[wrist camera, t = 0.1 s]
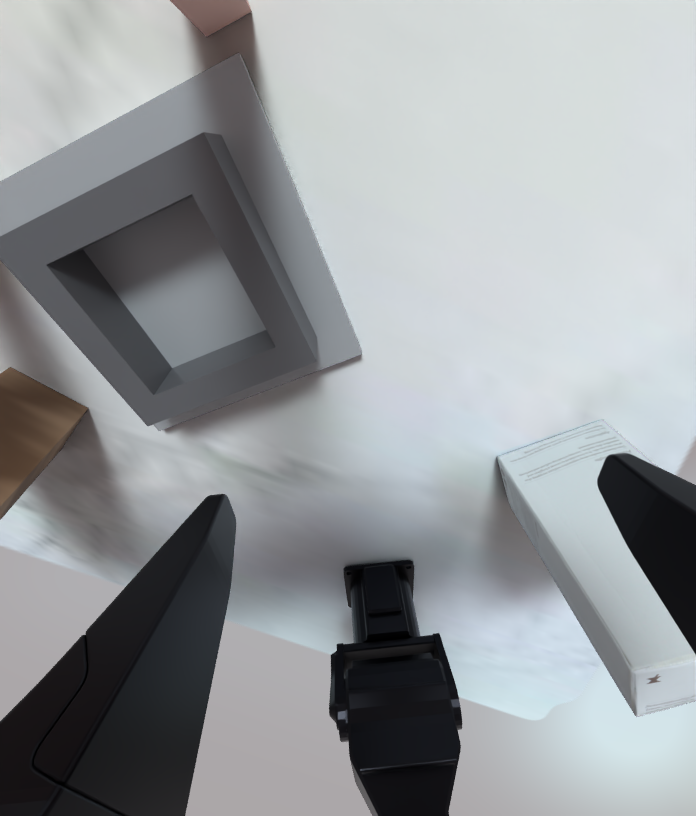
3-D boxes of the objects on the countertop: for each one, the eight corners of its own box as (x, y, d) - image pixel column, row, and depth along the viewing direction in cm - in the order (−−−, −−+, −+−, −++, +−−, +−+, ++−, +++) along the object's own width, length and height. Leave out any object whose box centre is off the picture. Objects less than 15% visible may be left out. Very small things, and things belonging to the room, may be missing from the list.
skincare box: (506, 500, 32) (624, 723, 19) (493, 450, 28) (625, 680, 16) (611, 467, 30) (810, 685, 18) (610, 411, 27) (852, 630, 15)
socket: (361, 348, 23) (367, 379, 20) (163, 423, 25) (140, 462, 22) (242, 56, 15) (222, 33, 12) (-27, 201, 18) (-102, 212, 14)
